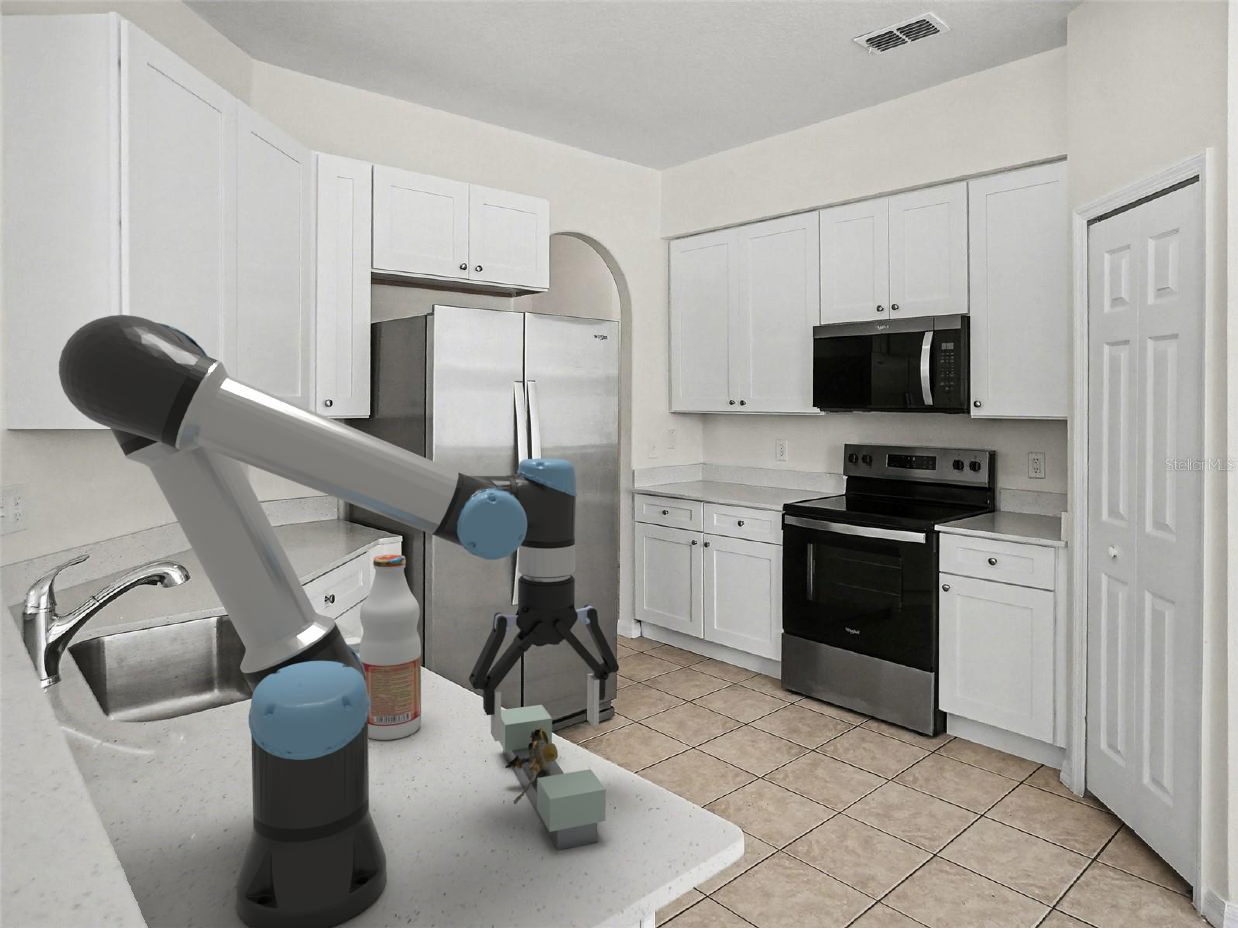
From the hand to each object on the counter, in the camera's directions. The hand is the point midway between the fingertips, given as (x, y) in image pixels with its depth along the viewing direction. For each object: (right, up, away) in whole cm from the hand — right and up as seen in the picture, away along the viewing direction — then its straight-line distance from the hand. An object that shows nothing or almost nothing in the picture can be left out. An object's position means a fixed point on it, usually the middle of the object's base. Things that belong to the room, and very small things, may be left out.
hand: (545, 729), depth 107 cm
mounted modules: (0, -6, +1) cm, 6 cm away
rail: (0, -9, +1) cm, 9 cm away
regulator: (-2, -6, 0) cm, 7 cm away
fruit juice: (-27, -7, +20) cm, 34 cm away
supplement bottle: (-38, -5, +35) cm, 52 cm away
